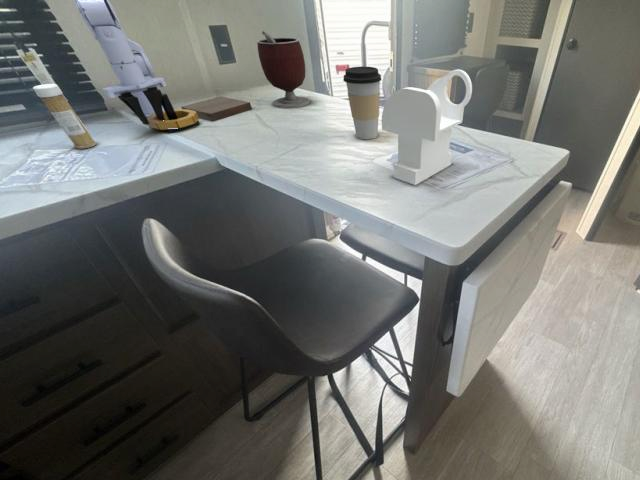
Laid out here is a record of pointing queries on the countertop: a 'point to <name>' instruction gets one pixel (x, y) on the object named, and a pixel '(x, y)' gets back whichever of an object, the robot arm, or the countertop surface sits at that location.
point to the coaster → (218, 108)
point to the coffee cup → (364, 99)
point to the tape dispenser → (424, 127)
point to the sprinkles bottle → (64, 115)
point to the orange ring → (184, 120)
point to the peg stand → (171, 113)
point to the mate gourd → (283, 67)
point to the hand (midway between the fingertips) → (154, 121)
